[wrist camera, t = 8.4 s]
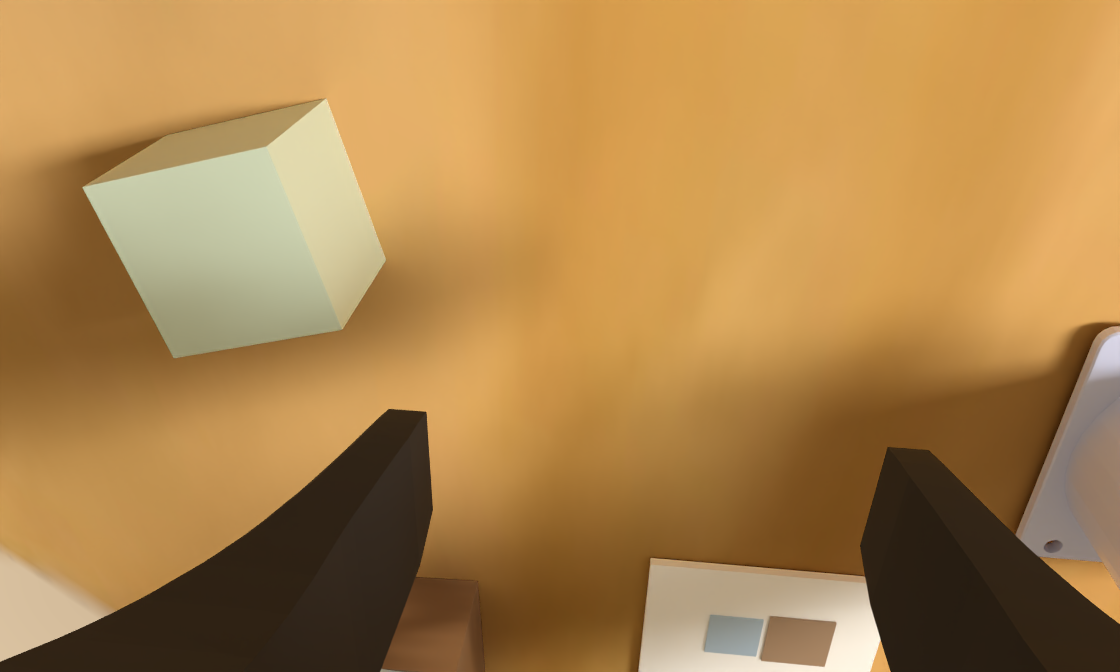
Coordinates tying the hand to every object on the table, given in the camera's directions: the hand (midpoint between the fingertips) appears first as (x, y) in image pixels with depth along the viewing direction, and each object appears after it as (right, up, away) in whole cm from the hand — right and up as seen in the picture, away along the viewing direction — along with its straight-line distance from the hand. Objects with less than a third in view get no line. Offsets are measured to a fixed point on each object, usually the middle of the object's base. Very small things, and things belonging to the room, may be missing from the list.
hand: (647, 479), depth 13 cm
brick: (-9, +6, +10) cm, 15 cm away
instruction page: (+6, -8, +16) cm, 19 cm away
